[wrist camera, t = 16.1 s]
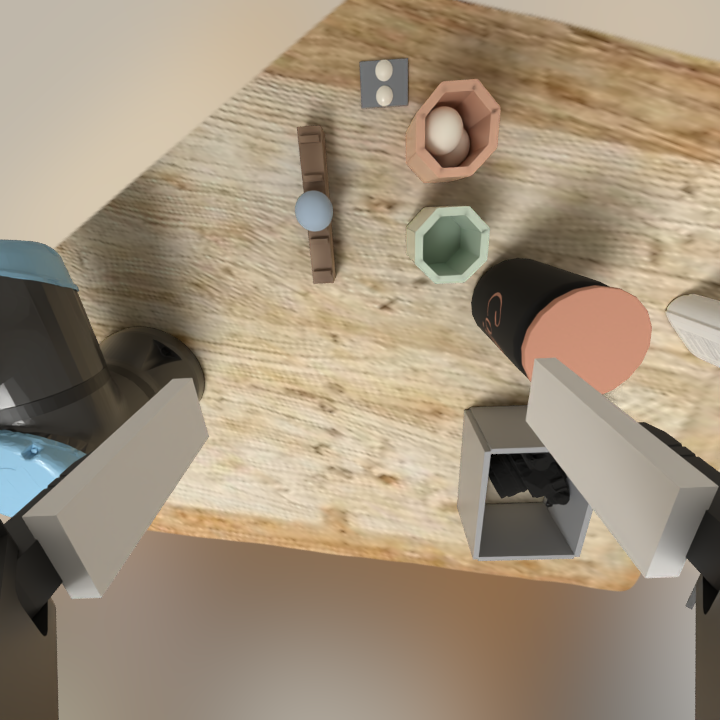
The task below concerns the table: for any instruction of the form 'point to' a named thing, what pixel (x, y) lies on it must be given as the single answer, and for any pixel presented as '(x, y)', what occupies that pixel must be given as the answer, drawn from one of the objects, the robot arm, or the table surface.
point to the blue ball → (314, 210)
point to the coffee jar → (562, 321)
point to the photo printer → (697, 325)
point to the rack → (317, 180)
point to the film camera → (529, 476)
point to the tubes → (440, 168)
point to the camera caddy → (515, 520)
